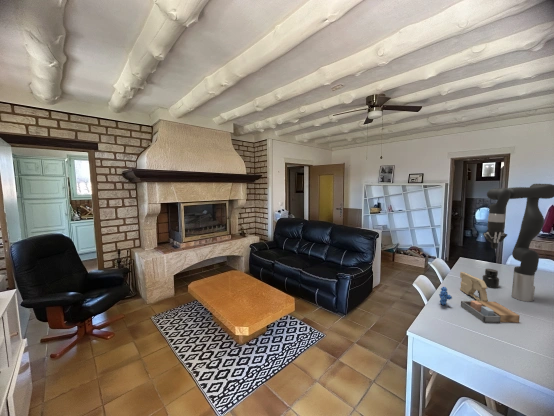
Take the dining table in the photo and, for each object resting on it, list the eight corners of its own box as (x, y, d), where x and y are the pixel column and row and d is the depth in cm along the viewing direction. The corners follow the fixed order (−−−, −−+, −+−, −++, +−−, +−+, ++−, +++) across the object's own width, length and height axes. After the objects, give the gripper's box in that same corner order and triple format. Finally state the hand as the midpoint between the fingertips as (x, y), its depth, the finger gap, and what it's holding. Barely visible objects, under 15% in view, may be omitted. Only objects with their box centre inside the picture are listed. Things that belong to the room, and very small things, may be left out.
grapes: (450, 311, 136) (452, 291, 135) (437, 307, 140) (438, 288, 139) (452, 303, 145) (453, 285, 144) (439, 300, 149) (440, 282, 148)
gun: (488, 307, 140) (488, 282, 140) (482, 306, 141) (482, 282, 141) (464, 292, 164) (464, 271, 164) (459, 292, 165) (459, 271, 164)
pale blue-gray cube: (487, 306, 131) (481, 306, 131) (493, 310, 126) (488, 310, 127) (486, 314, 131) (480, 314, 132) (493, 318, 127) (487, 318, 127)
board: (494, 308, 139) (495, 301, 139) (519, 322, 124) (519, 315, 124) (477, 307, 140) (477, 301, 140) (499, 322, 125) (500, 315, 125)
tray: (474, 306, 141) (475, 301, 141) (500, 323, 124) (500, 316, 124) (460, 306, 142) (461, 300, 141) (483, 322, 125) (484, 316, 124)
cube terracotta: (475, 300, 138) (470, 300, 138) (482, 304, 133) (476, 304, 134) (475, 307, 138) (470, 307, 138) (481, 311, 134) (476, 311, 134)
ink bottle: (492, 283, 174) (493, 268, 173) (502, 288, 165) (504, 272, 164) (478, 283, 175) (479, 267, 174) (487, 288, 166) (489, 272, 165)
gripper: (502, 220, 145) (499, 246, 147) (479, 219, 146) (477, 246, 147) (513, 221, 138) (510, 250, 139) (490, 221, 138) (487, 249, 140)
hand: (493, 248), depth 143 cm, fingers closed
